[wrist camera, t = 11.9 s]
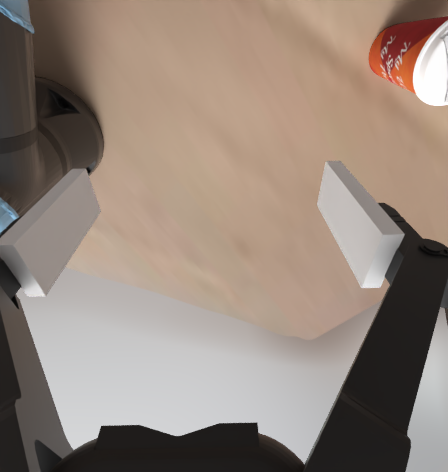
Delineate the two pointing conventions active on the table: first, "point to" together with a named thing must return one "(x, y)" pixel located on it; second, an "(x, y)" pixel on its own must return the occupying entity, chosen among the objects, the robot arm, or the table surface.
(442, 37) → the paper cup
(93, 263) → the table surface
